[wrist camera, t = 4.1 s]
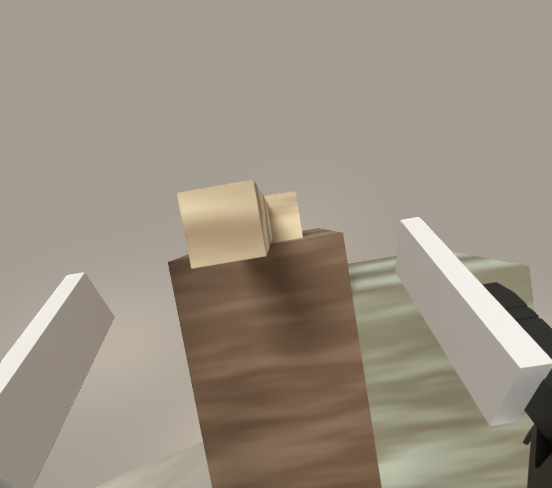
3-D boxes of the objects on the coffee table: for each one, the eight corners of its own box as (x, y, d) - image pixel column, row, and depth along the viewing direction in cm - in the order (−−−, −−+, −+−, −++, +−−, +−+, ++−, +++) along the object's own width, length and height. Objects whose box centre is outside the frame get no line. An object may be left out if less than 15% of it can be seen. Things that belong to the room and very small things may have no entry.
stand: (559, 544, 26) (522, 202, 24) (232, 590, 26) (167, 262, 24) (460, 430, 40) (431, 209, 38) (248, 462, 40) (208, 246, 38)
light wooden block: (331, 258, 12) (315, 155, 12) (132, 291, 12) (111, 190, 12) (296, 232, 36) (290, 199, 36) (229, 244, 36) (223, 210, 36)
